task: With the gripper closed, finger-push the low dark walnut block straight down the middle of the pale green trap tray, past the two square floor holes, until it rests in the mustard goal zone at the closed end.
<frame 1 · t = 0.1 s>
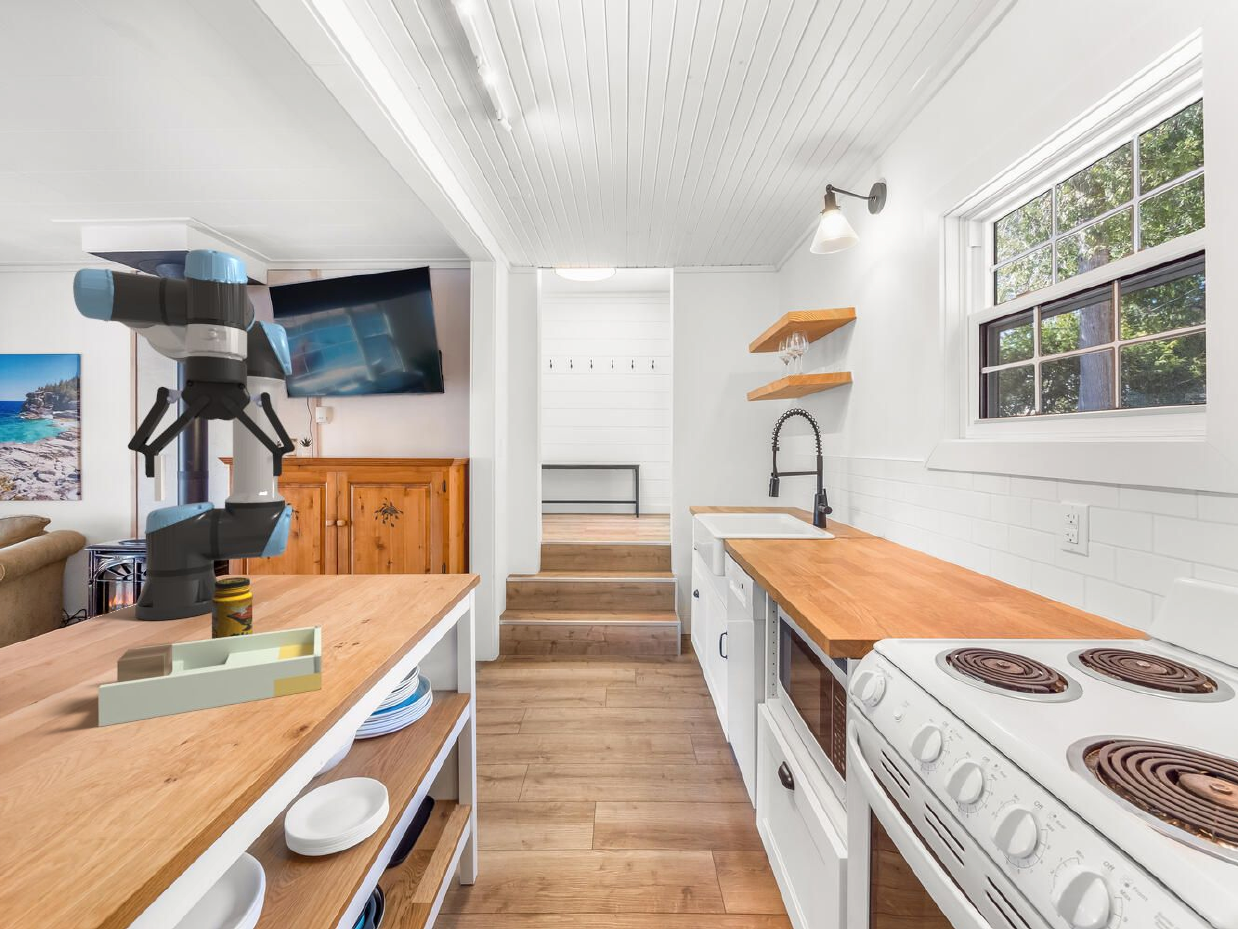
hand: (217, 499, 84), 28 cm above the counter, fingers open, 13 cm apart
block: (146, 680, 79), point 2 cm above the counter, touching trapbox
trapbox: (227, 684, 84), on the counter
condiment: (226, 647, 100), on the counter
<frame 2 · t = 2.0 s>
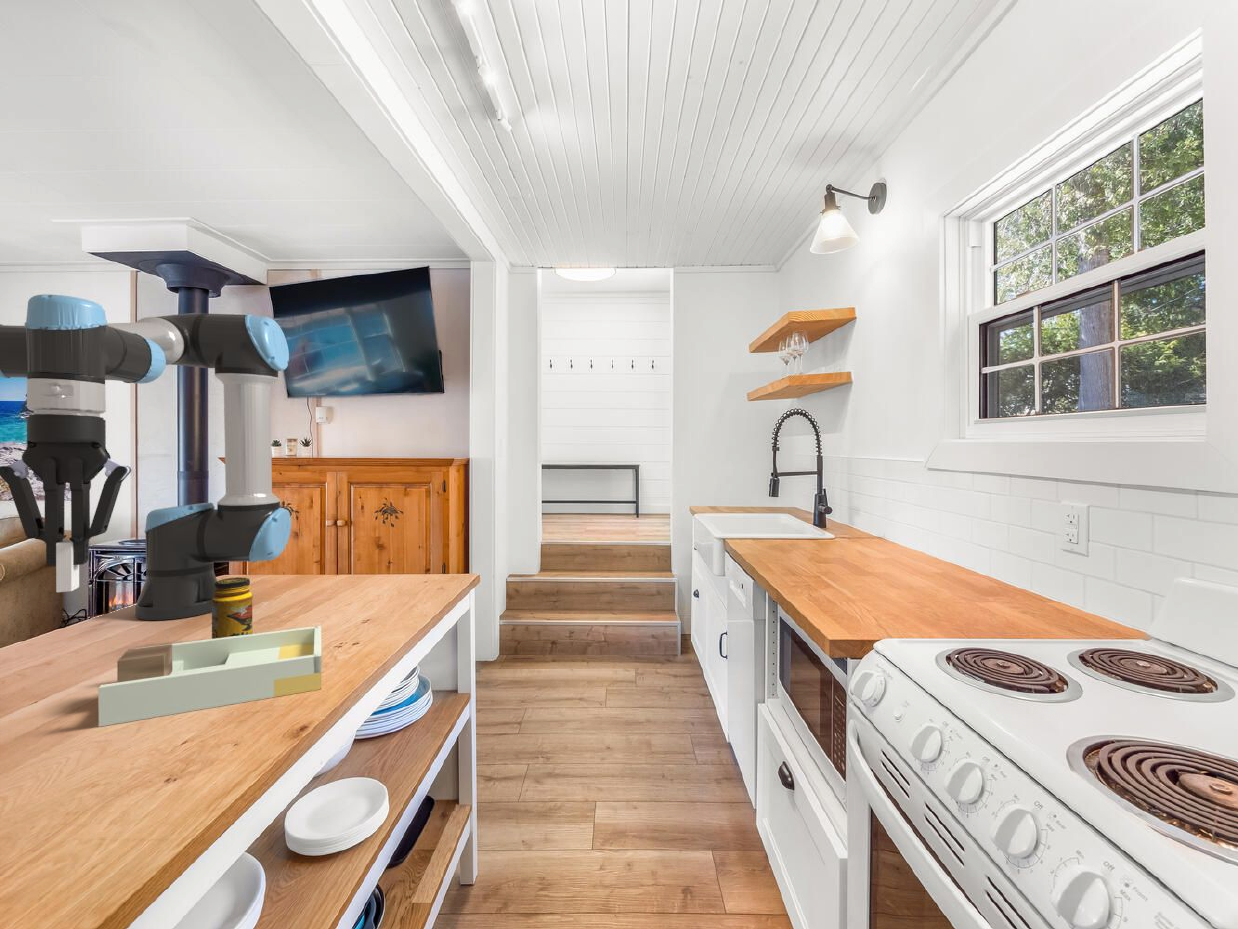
hand: (68, 589, 75), 16 cm above the counter, fingers closed
nothing on the counter moved.
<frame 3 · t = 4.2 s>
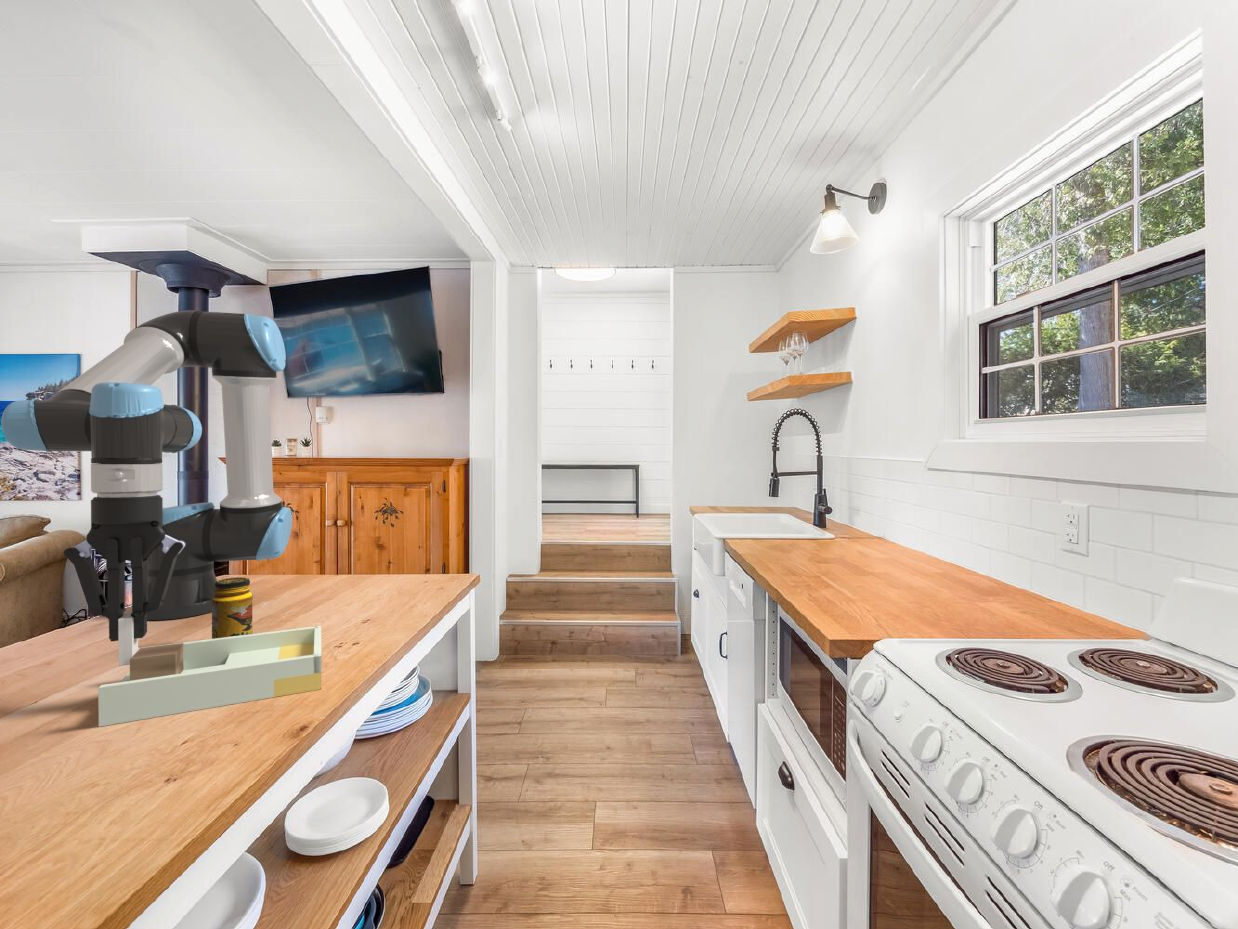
hand: (128, 661, 78), 5 cm above the counter, fingers closed
block: (157, 678, 80), point 3 cm above the counter, touching gripper, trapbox
everything else where it was.
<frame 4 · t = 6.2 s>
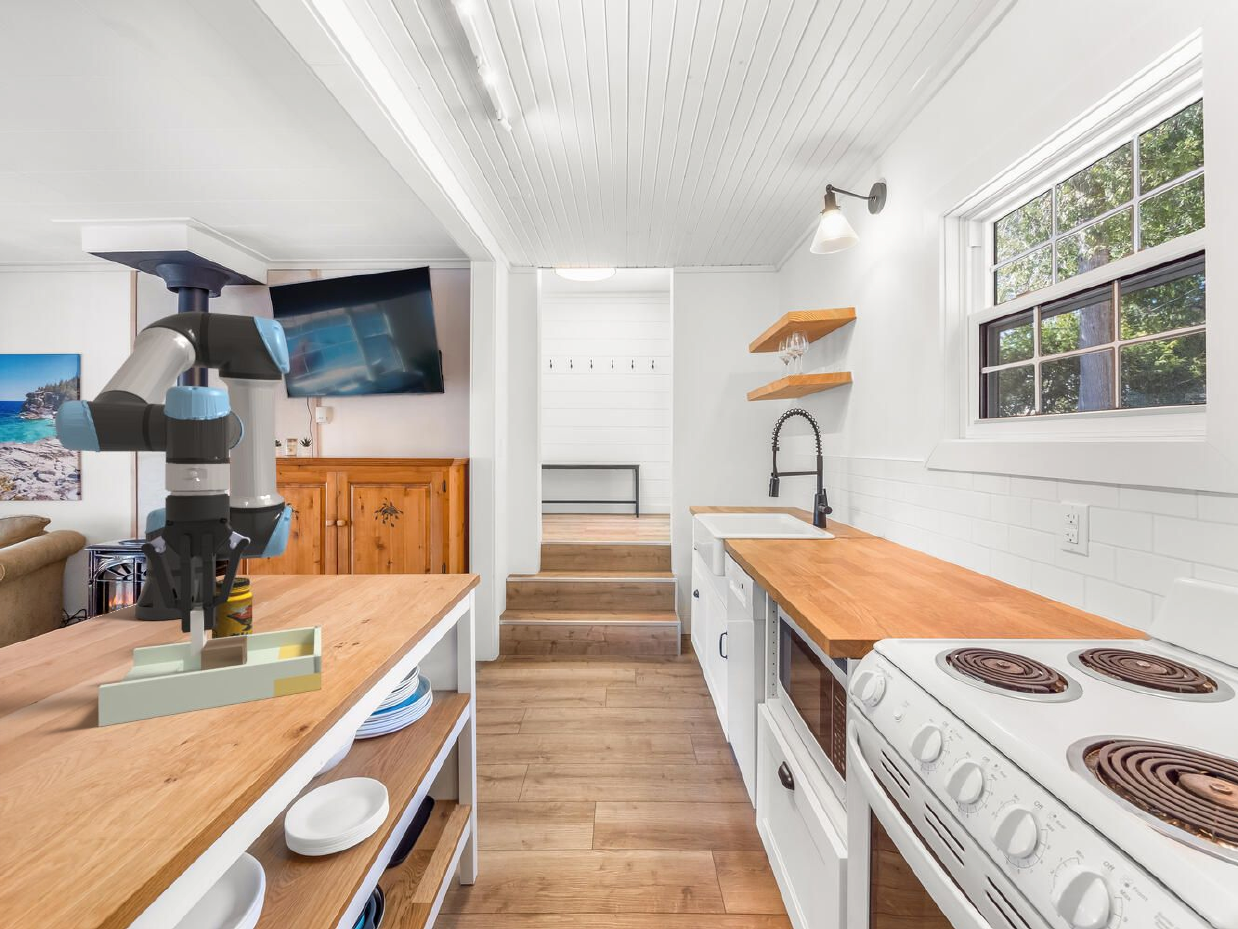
hand: (198, 652, 82), 5 cm above the counter, fingers closed
block: (225, 669, 83), point 3 cm above the counter, touching gripper
everything else where it was.
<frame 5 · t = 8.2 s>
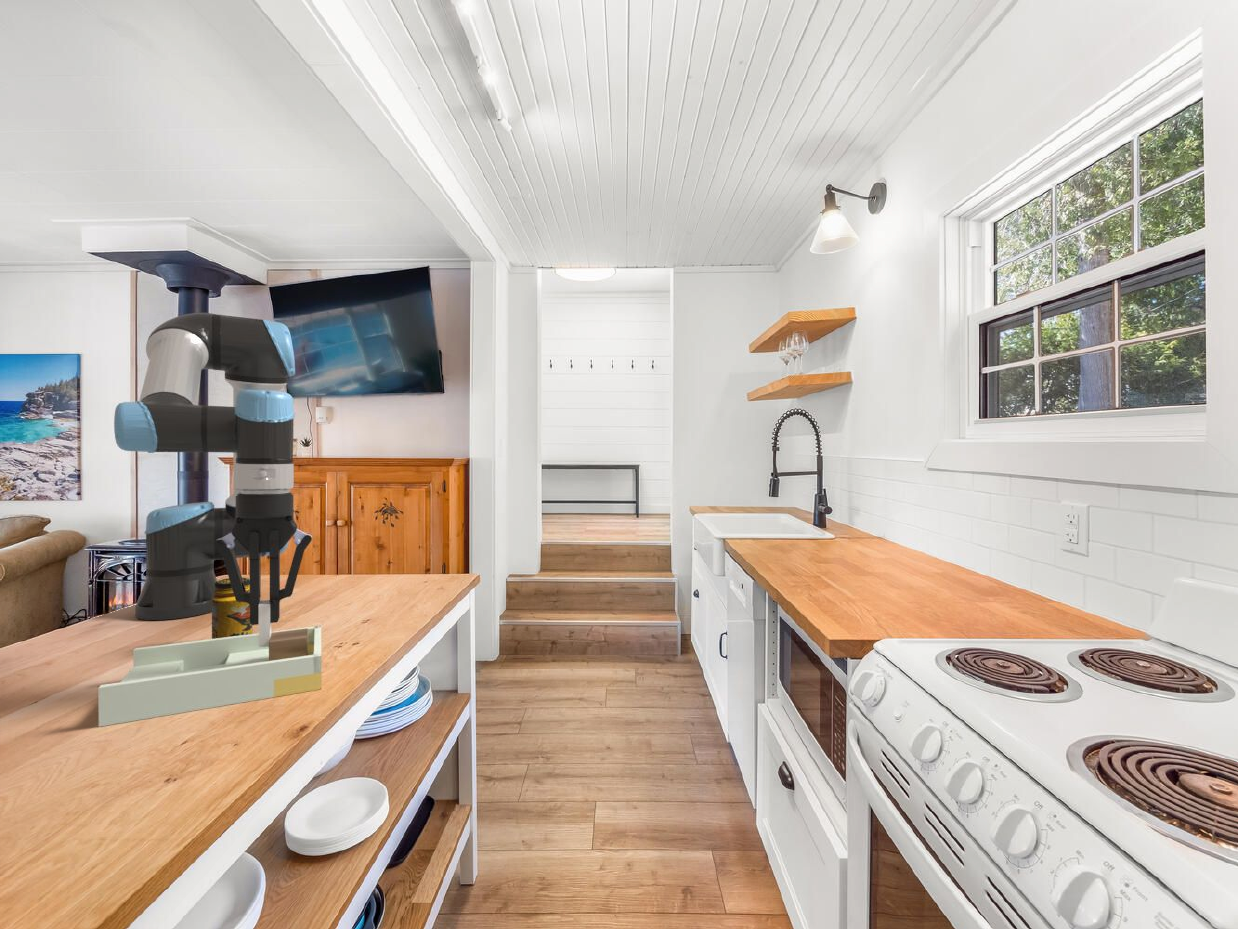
hand: (265, 644, 86), 5 cm above the counter, fingers closed
block: (289, 660, 87), point 2 cm above the counter, touching gripper, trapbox
everything else where it was.
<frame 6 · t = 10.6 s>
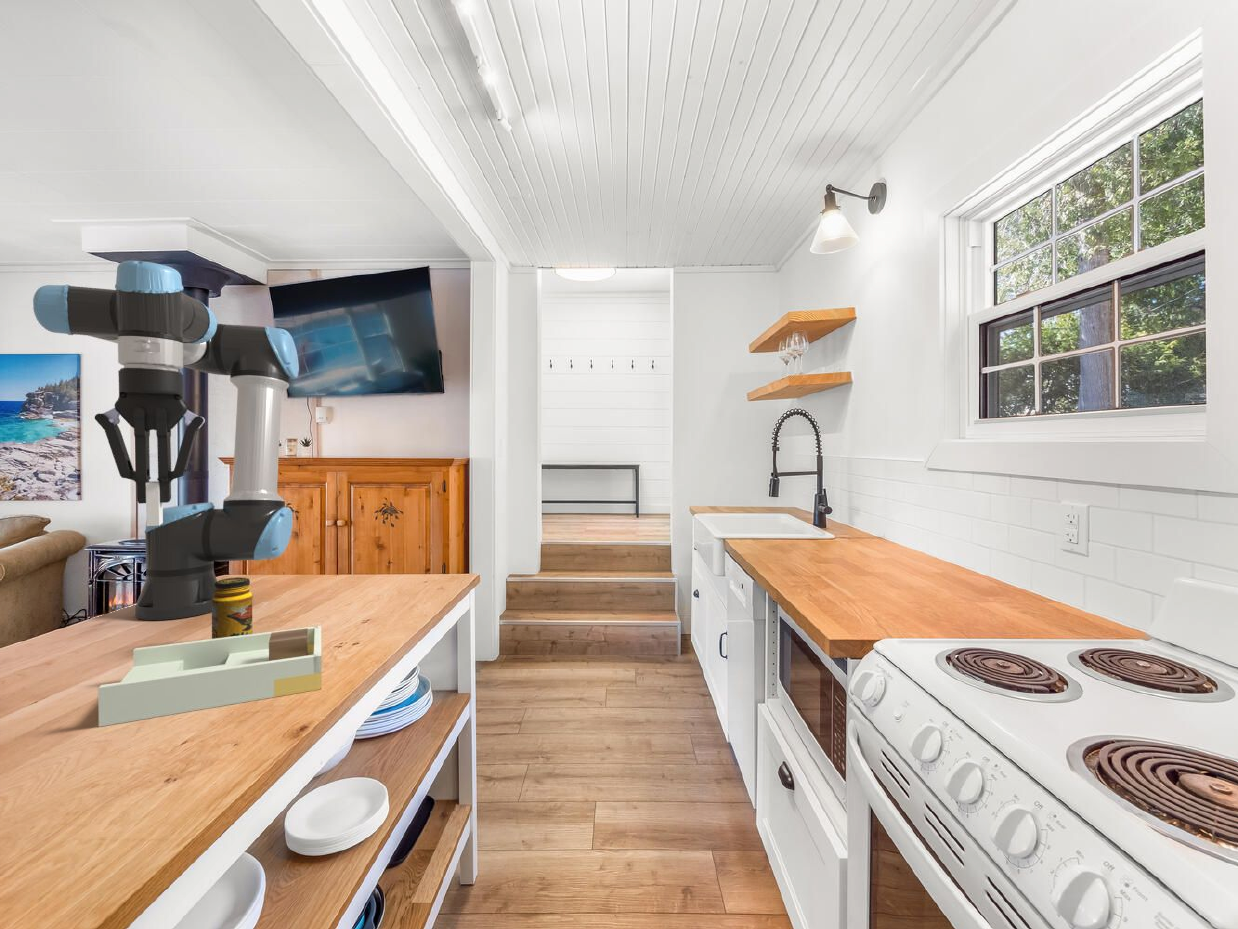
hand: (154, 524, 85), 24 cm above the counter, fingers closed
block: (289, 660, 87), point 2 cm above the counter, touching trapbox
everything else where it was.
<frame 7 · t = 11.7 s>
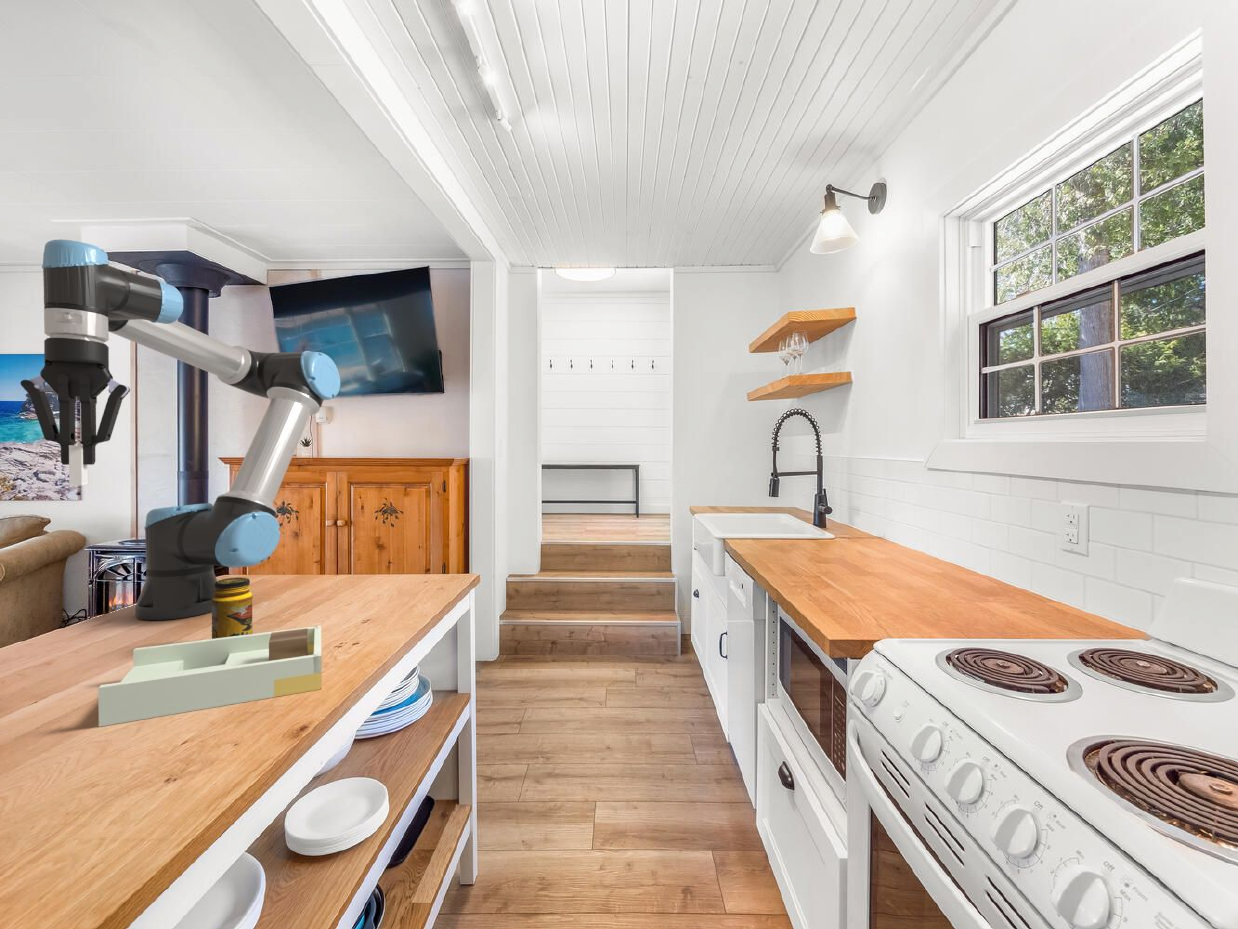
hand: (78, 485, 91), 29 cm above the counter, fingers closed
nothing on the counter moved.
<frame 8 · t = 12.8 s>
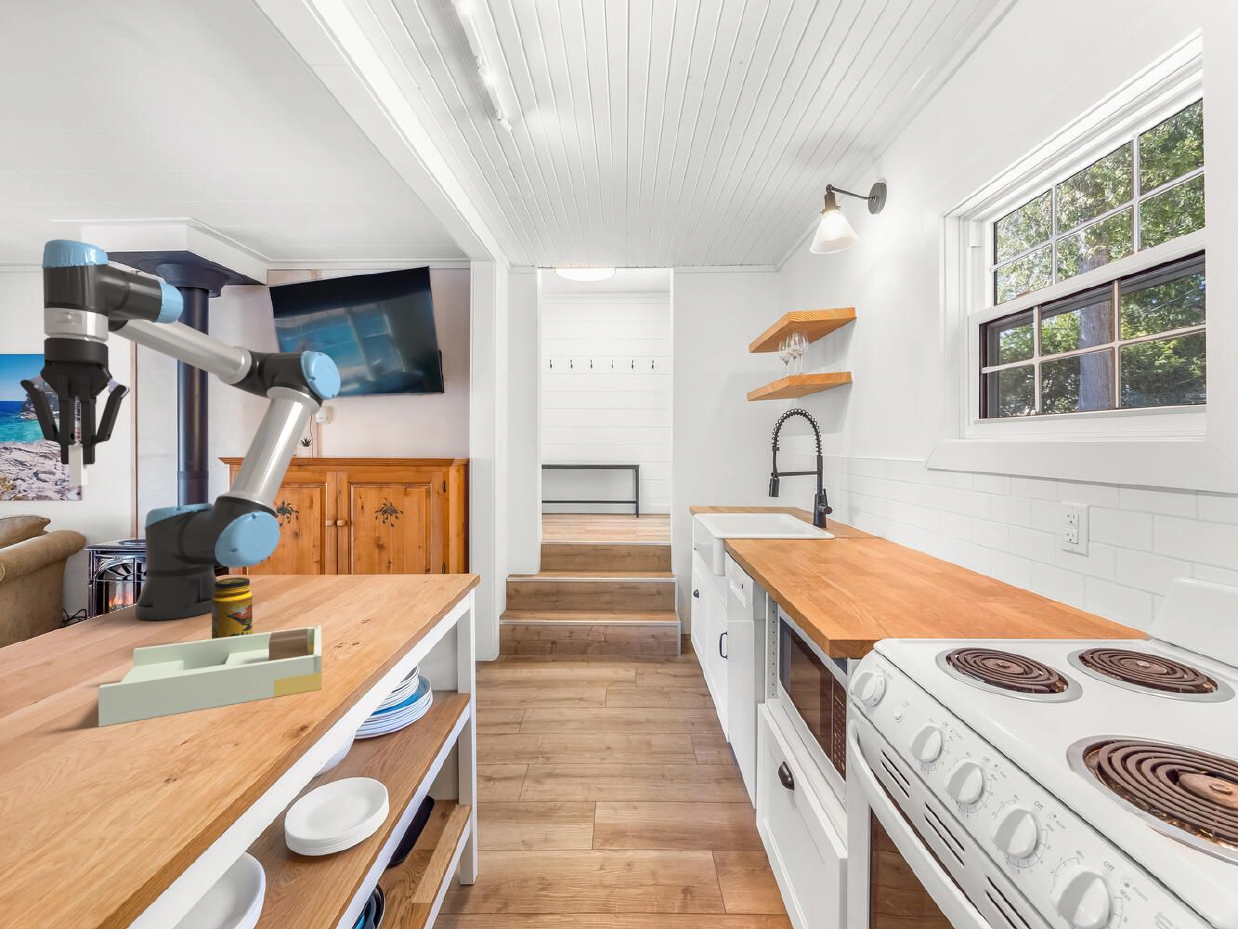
hand: (78, 484, 91), 29 cm above the counter, fingers closed
nothing on the counter moved.
at the end: block inside the target area (0.8 cm from its centre), point 2.5 cm above the counter; block tilted 0° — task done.
